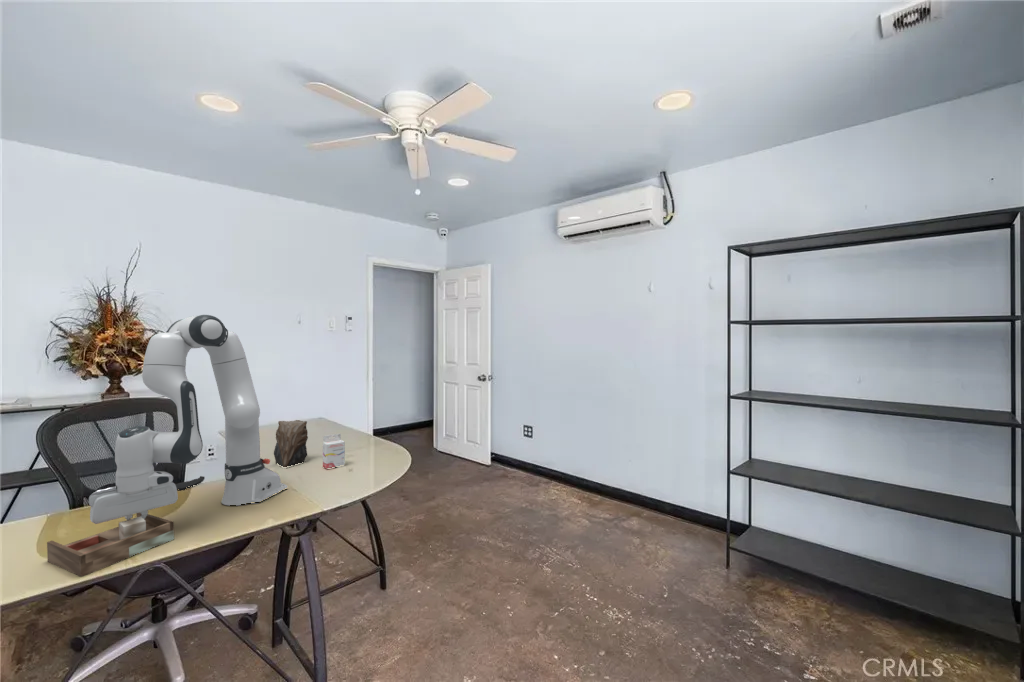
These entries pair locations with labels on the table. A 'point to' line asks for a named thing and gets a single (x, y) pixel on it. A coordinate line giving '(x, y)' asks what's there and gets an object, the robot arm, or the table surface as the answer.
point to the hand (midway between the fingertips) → (136, 526)
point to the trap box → (108, 547)
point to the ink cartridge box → (333, 451)
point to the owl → (291, 442)
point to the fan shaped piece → (189, 483)
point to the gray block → (131, 527)
